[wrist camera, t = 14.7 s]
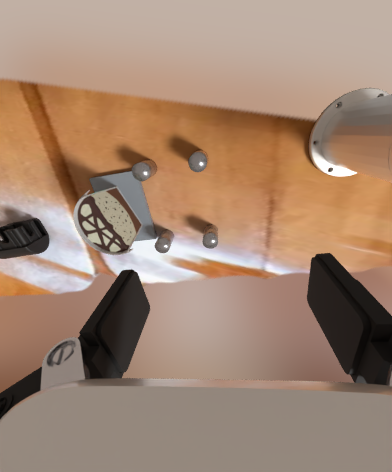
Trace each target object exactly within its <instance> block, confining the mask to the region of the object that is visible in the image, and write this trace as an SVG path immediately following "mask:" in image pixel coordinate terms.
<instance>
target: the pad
mask: <svg viewBox="0 0 392 472" xmlns="http://www.w3.org/2000/svg"><path fill="white" fill-rule="evenodd" d="M89 180H90V182H91V185H92V187H93V190H94V192H95V193H96V192H99V191H102V190H106V189H109V188H113V187H116V186H117V187H118V188H119V190H120V191H121V193H122V194H123V196H124V197H125V199H126V200H127V202H128V203H129V205H130V206H131V208H132V209H133V211H134V212H135V214H136V215H137V217H138V218H139V220H140V221H141V223H142V224H143V226H142V227H141V229H140V231H139V233H138V235H137V237H136V238H135V240H134V241H141V240H150V239H156V238H157V235H156V231H155V228H154V224H153V221H152V218H151V214H150V211H149V208H148V204H147V201H146V197H145V194H144V191H143V187H142V184H141V181H138V180H136V179H135V178H134V176H133V174H132V171H128V172H122V173H116V174H110V175H105V176H99V177H93V178H90V179H89Z"/></svg>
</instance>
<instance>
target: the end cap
mask: <svg viewBox="0 0 392 472" xmlns="http://www.w3.org/2000/svg"><path fill="white" fill-rule="evenodd" d="M0 236H1V237H2V239H3V240H2V241H1V240H0V259H7V258H13V257H20V256H26V255H33V254H39V253H42V252H44V251H45V250H46V249H47V248H48V246H49V235H48V233H47V231H46V229H45V228H44V226H43V225H42V223H41V221H40V220H39V219H32V220H26V221H21V222H16V223H11V224H8V225H7V226H3V227H0Z"/></svg>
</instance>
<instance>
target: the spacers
mask: <svg viewBox="0 0 392 472" xmlns="http://www.w3.org/2000/svg"><path fill="white" fill-rule="evenodd" d="M207 162H208V156H207V154H206V152H204V151H202V150H198V151H196V152H194V153H193V154H192V155H191V156H190V158H189V162H188V163H189V167H190V168H191V170H193V171H194V172H201V171H203V170H204V169H205V167H206V165H207ZM156 171H157V166H156V164H155V162H154V161H152V160H144V161H142V162H139V163H137V164H135V165H134V166H133V167H132V174H133V176H134V178H135V179H136V180H138V181H145V180H147V179H148V178H150V177H151V176H153V175H154V174H155V173H156ZM173 238H174V234H173V232H172V231H170V230H164V231H162V233H161V235H160V236H159V238H158V240H157V242H156V244H155V248H156V250H157V251H158V252H160V253H166V252H167V251H168V250H169V248H170V246H171V243H172V241H173ZM217 244H218V229H217V227H216V226H214V225H207V226H206V227H205V229H204V235H203V245H204V246H205V247H206V248H214V247H216V246H217Z"/></svg>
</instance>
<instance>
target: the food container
mask: <svg viewBox="0 0 392 472" xmlns="http://www.w3.org/2000/svg"><path fill="white" fill-rule="evenodd" d="M89 191H90V190H88V191H87V192H86V193H85V194H84V195H83V196H82V197H81V198H80V199H79V200H78V202H77V204H76V206H75V209H74V223H75V226H76V229H77V231H78V233H79V234H80V236H81V237H82V238H83V239H84V241H85V242H86V243H88V244H89V245H90V246H91V247H93V248H94V249H96V250H98V251H100V252H103V253H106V254H110V255H121V254H125V253H128V252H130V251H131V250H133V249H130V247H131V246H132V244H133V242H134V240H135V238H136V237H137V235H138V233H139V231H140V229H141V227H142V226H143V224H142V223H141V221H140V220H139V218H138V217H137V215H136V214H135V212H134V211H133V209H132V208H131V206H130V205H129V203H128V202H127V200H126V199H125V197H124V196H123V194H122V193H121V191H120V190H119V188H118V187H117V186H116V187H113V188H109V189H106V190H102V191H99V192H96V193H92V194H89V195H87V193H88V192H89ZM129 249H130V250H129Z"/></svg>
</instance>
